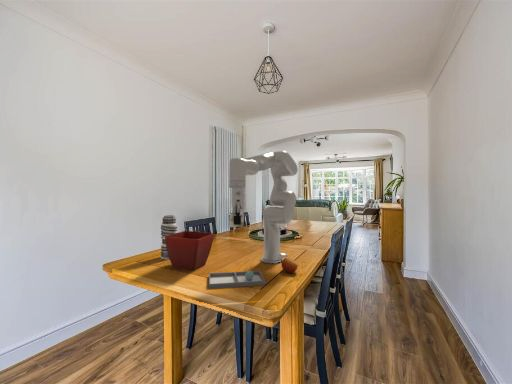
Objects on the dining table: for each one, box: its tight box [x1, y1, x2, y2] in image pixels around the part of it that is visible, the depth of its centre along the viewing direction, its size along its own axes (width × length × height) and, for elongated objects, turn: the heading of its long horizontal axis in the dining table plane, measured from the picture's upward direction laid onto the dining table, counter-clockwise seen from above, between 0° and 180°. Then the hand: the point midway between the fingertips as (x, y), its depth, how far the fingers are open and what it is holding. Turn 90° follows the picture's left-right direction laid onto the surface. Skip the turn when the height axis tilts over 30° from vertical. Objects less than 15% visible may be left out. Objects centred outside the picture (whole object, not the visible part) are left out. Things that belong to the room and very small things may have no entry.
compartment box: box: [208, 270, 267, 289], centre depth 104 cm, size 24×13×2 cm, turn 101°
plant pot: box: [165, 230, 215, 271], centre depth 123 cm, size 19×19×17 cm
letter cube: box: [228, 212, 245, 228], centre depth 108 cm, size 6×6×6 cm
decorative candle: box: [160, 214, 178, 260], centre depth 138 cm, size 9×9×25 cm
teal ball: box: [245, 270, 254, 280], centre depth 105 cm, size 4×4×4 cm
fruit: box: [281, 257, 299, 274], centre depth 117 cm, size 8×8×8 cm
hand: (236, 223), depth 108 cm, fingers closed on letter cube, 6 cm apart
